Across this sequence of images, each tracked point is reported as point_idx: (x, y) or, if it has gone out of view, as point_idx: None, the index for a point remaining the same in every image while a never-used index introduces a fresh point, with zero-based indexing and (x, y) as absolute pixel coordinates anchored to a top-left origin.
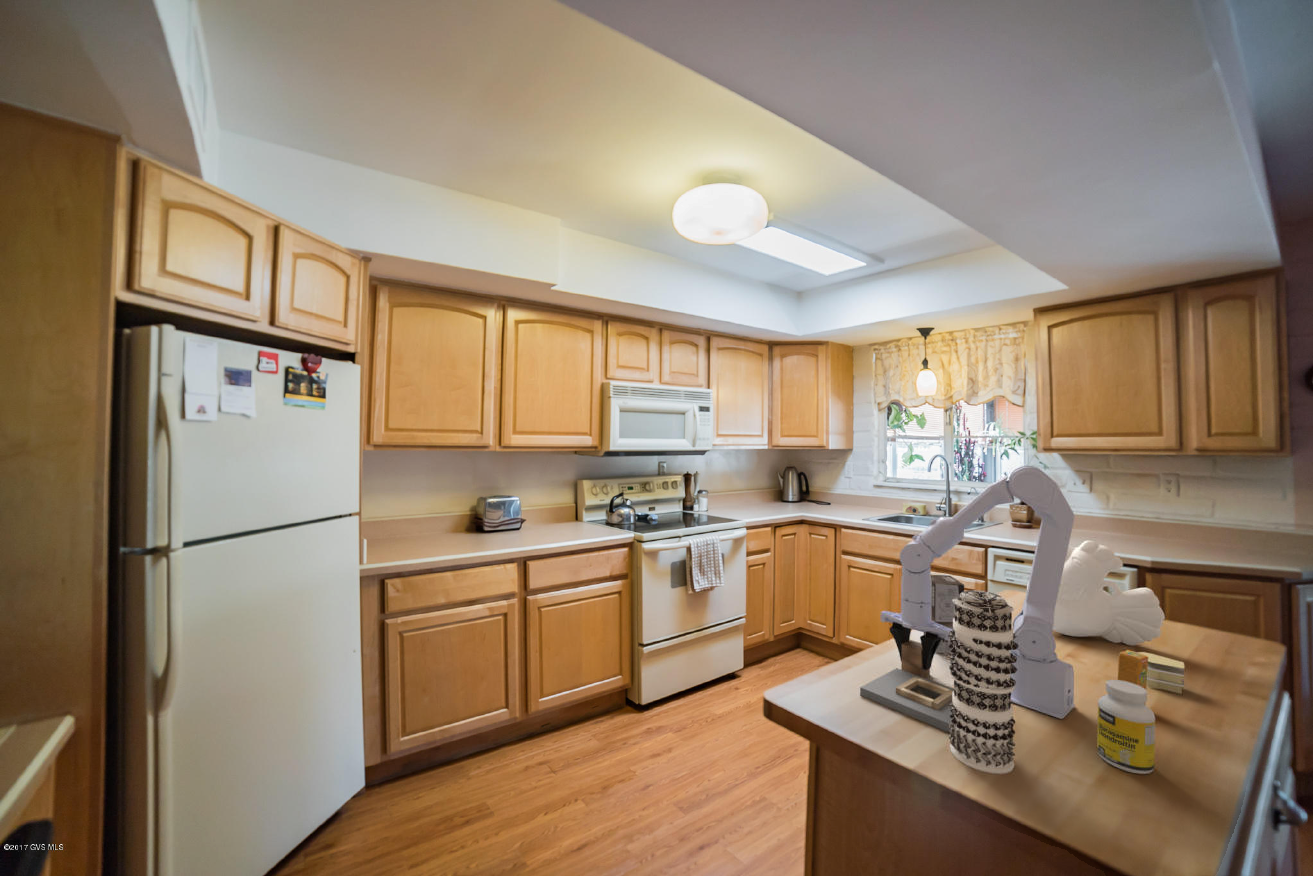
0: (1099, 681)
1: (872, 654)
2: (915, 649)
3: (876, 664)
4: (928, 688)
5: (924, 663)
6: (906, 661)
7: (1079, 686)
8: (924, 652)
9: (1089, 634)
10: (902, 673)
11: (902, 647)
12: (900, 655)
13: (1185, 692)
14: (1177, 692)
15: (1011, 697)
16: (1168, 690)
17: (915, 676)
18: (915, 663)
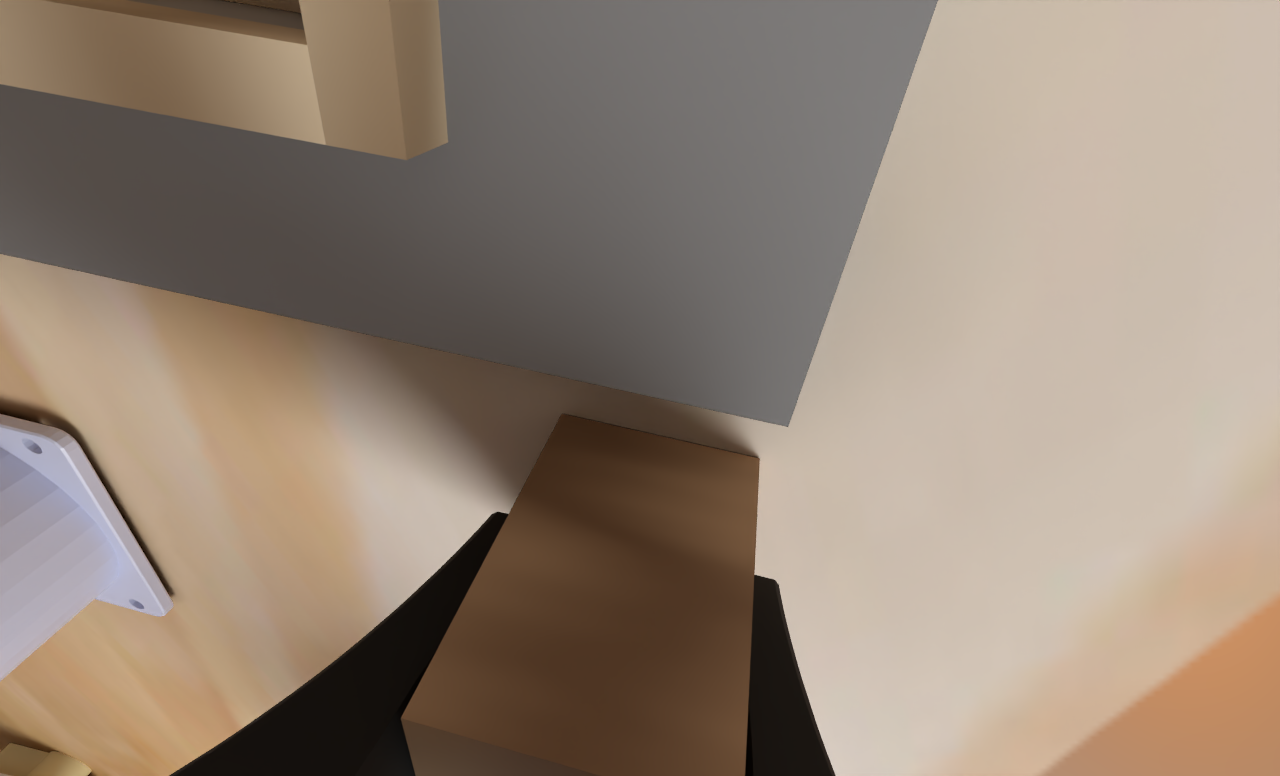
0: (132, 747)
1: (1106, 682)
2: (499, 730)
3: (1054, 513)
4: (197, 13)
5: (473, 561)
6: (688, 557)
7: (117, 700)
8: (372, 691)
9: None
10: (678, 313)
11: (731, 752)
12: (779, 639)
13: None
14: (15, 746)
15: (25, 456)
16: (32, 749)
17: (524, 327)
18: (568, 538)
